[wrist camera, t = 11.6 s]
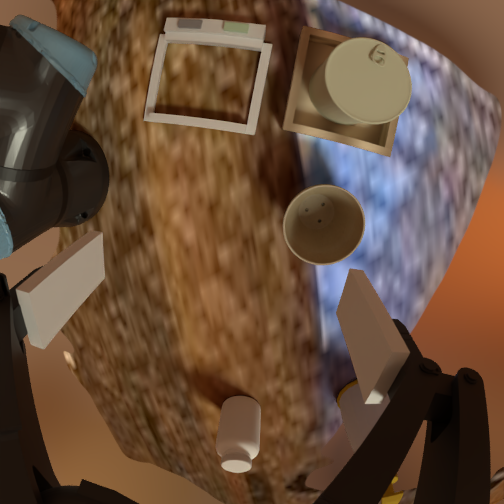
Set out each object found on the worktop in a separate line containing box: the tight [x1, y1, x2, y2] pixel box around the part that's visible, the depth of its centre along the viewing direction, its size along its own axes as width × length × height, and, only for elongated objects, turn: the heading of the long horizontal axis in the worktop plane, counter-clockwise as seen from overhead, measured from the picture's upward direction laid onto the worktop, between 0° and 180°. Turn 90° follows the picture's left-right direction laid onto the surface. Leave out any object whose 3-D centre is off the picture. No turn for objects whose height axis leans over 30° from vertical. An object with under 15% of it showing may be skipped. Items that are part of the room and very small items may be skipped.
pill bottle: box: [216, 396, 261, 473], centre depth 52 cm, size 8×8×15 cm
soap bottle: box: [337, 379, 403, 504], centre depth 44 cm, size 11×12×26 cm
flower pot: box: [283, 184, 365, 265], centre depth 40 cm, size 10×10×7 cm
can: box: [309, 37, 412, 125], centre depth 30 cm, size 9×9×12 cm
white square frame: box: [144, 18, 272, 135], centre depth 35 cm, size 15×15×3 cm
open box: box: [282, 26, 408, 157], centre depth 35 cm, size 14×14×4 cm
